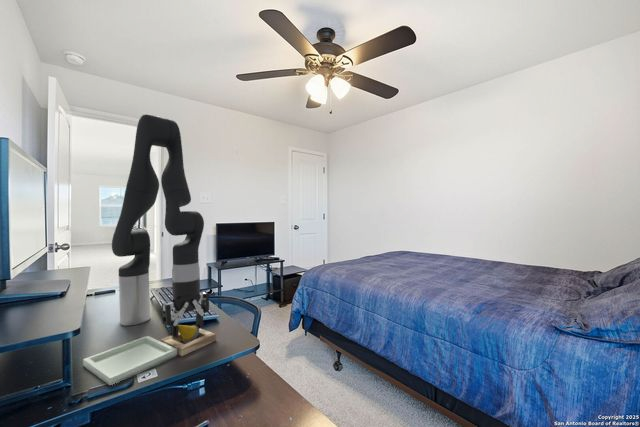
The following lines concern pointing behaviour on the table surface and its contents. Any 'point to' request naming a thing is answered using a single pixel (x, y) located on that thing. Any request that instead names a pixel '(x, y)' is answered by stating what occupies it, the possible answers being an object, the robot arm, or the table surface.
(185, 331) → the yellow cone
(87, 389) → the table surface
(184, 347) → the square wooden frame
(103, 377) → the tray
